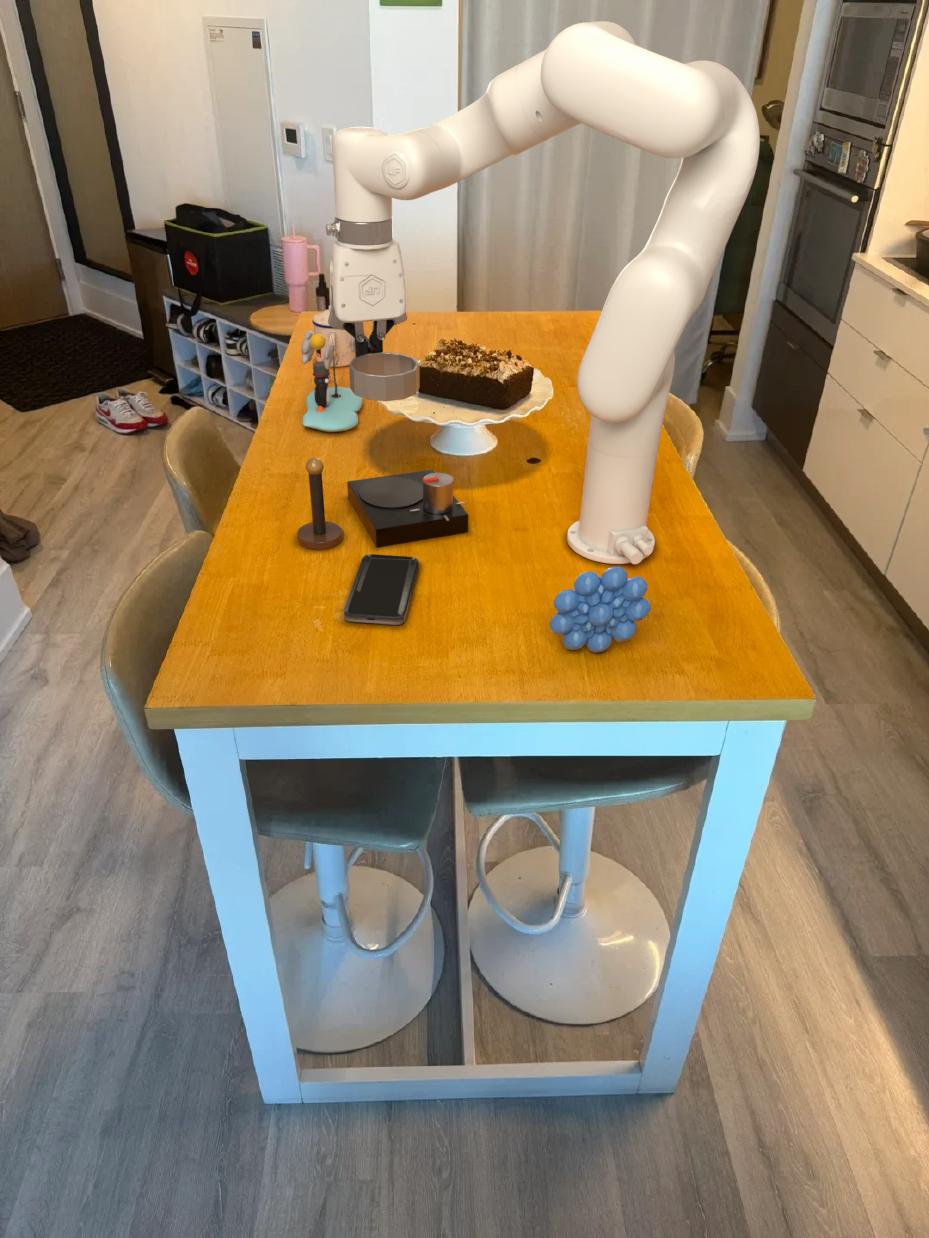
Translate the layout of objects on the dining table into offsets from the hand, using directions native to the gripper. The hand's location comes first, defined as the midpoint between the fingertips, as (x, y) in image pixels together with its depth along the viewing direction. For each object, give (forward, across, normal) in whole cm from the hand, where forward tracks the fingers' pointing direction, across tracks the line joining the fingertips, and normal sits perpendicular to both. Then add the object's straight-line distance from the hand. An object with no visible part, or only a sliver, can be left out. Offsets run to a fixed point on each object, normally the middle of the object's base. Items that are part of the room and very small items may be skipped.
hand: (369, 365), depth 132 cm
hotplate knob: (+17, +6, -14) cm, 23 cm away
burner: (+17, +1, -8) cm, 19 cm away
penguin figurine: (+21, +1, +32) cm, 38 cm away
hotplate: (+20, +2, -10) cm, 23 cm away
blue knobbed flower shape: (+20, +14, -49) cm, 55 cm away
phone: (+20, -7, -29) cm, 36 cm away
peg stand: (+20, -12, -12) cm, 27 cm away
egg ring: (+1, 0, -5) cm, 5 cm away
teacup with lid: (+21, +9, +60) cm, 64 cm away
